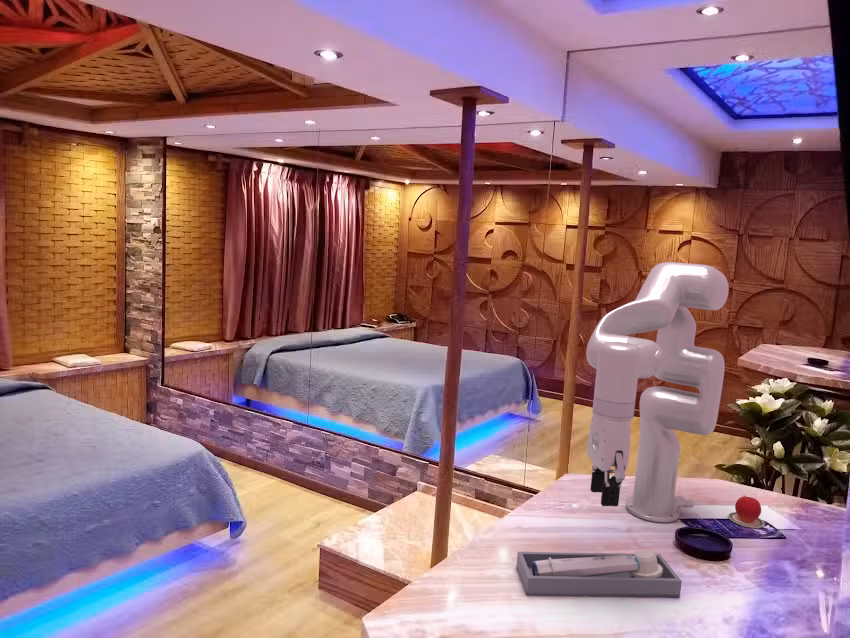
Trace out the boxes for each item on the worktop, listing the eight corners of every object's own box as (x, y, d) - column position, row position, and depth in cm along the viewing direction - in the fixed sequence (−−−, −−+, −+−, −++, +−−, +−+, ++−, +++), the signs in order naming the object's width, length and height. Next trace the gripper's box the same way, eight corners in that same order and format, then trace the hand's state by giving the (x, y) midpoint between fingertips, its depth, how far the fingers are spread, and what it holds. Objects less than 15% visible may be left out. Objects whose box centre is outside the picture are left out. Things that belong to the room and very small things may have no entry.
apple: (720, 517, 158) (724, 492, 157) (742, 512, 162) (745, 487, 161) (749, 531, 151) (753, 505, 150) (771, 526, 155) (775, 500, 154)
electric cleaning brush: (530, 555, 125) (654, 540, 126) (532, 586, 126) (656, 572, 127) (536, 568, 120) (666, 553, 121) (538, 601, 121) (667, 586, 122)
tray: (658, 570, 131) (660, 554, 131) (679, 597, 122) (681, 580, 121) (516, 567, 129) (517, 551, 129) (526, 595, 120) (528, 578, 119)
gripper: (580, 394, 128) (571, 480, 131) (609, 420, 111) (599, 518, 114) (616, 396, 129) (607, 481, 132) (651, 422, 112) (640, 519, 115)
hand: (603, 497), depth 123 cm, fingers open, 5 cm apart
